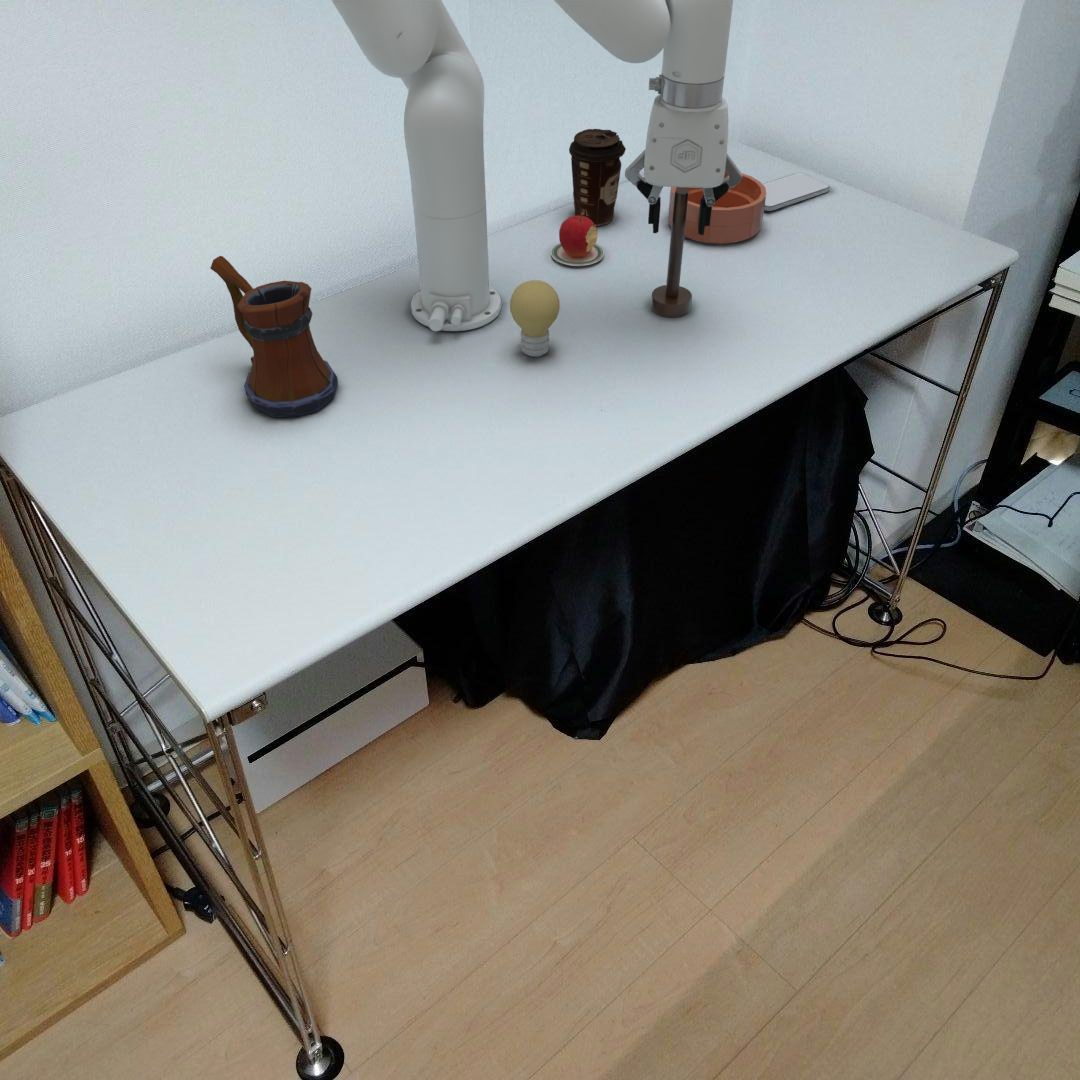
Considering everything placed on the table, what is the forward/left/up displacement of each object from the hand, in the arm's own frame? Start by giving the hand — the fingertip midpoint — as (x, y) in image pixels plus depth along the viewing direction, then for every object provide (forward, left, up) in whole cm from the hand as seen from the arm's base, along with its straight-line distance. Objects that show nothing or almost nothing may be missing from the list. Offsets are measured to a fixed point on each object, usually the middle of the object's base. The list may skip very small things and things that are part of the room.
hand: (678, 228), depth 138 cm
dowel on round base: (0, 0, -12) cm, 12 cm away
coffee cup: (+27, +12, -12) cm, 32 cm away
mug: (-23, +50, -12) cm, 56 cm away
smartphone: (+38, -19, -12) cm, 44 cm away
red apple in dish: (+14, +14, -12) cm, 23 cm away
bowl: (+26, -7, -12) cm, 29 cm away
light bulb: (-13, +18, -12) cm, 25 cm away
